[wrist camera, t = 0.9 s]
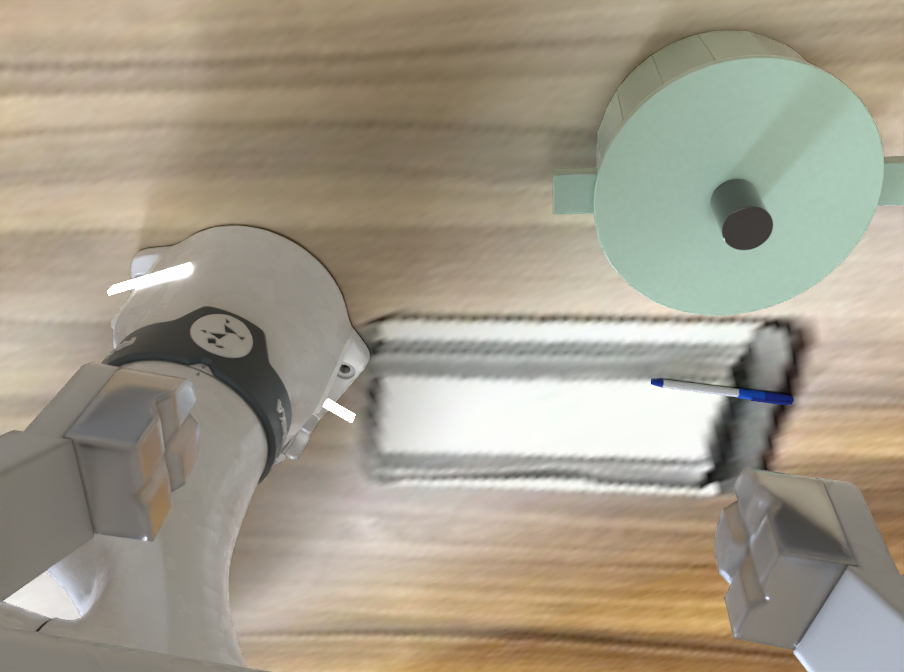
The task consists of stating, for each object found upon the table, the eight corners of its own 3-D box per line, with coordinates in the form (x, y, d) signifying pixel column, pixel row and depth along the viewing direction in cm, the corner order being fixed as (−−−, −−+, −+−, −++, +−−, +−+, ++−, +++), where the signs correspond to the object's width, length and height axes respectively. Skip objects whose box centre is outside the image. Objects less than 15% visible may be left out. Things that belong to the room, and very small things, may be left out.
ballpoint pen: (794, 390, 56) (797, 399, 55) (790, 400, 57) (793, 408, 56) (651, 375, 57) (653, 384, 56) (649, 385, 57) (650, 393, 57)
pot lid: (844, 303, 44) (872, 350, 40) (590, 306, 46) (593, 350, 42) (907, 42, 36) (950, 68, 32) (595, 59, 38) (600, 86, 34)
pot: (848, 241, 49) (890, 301, 43) (554, 247, 52) (553, 304, 46) (900, 19, 41) (960, 53, 35) (552, 40, 44) (551, 75, 38)
